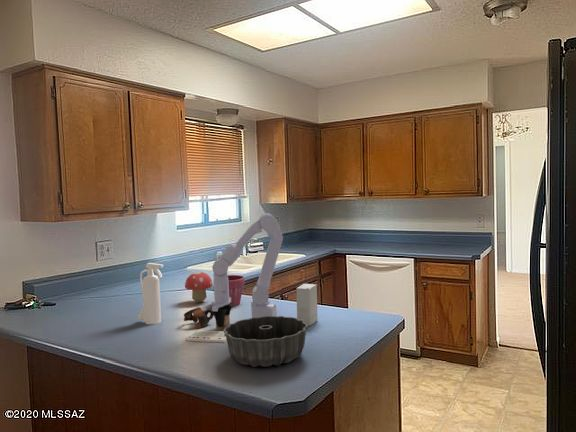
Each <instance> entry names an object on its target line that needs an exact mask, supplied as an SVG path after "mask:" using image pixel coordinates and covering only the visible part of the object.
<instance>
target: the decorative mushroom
mask: <svg viewBox="0 0 576 432" xmlns="http://www.w3.org/2000/svg"><path fill="white" fill-rule="evenodd" d="M213 286H214V283H213V280H212V278H211V276H209V274H207V273H205V272H203V271H195V272H192V273H191V274H189V275H188V277H186V280H185V283H184V289H186V290H188V291H191V292H192V293H191V295H192V296H191V297H192V298H191V299H192V300H193V301H194V302H195V303H202V302H204V301H205V300H206V299H207V289H210V288H212V287H213Z"/></svg>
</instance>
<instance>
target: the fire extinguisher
mask: <svg viewBox="0 0 576 432" xmlns="http://www.w3.org/2000/svg"><path fill="white" fill-rule="evenodd" d="M164 266H165V265H164V264H162V263H155V262H147V263H146V264H145V268H147V269H143V270H142V271H140V272H139V273H140V274H139V281H140V285H141V293H142V303H143V305H142V309H141V310H140V312H139V314H138V317H137V318H138V321H144V324H145V325H156V324H159V323H160V324H161V322H162V310H161V289H160V279H162V278H163V273H162V271H160V268H161V269H163V268H164ZM145 272H146V273H147V275H146V276H144V277H143V274H144V273H145ZM154 272H155V273H154ZM155 274H156V275H155ZM142 278H143V279H142Z"/></svg>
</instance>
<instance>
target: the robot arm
mask: <svg viewBox="0 0 576 432" xmlns="http://www.w3.org/2000/svg"><path fill="white" fill-rule="evenodd" d="M263 231H265V233H266V234H267V236H268V237H269V239H270V240H269V243H268V247H267V249H266V253H265V256H264V260H263V264H262V266H261V270H260V274H259V277H258V279H257V281H256V284H255V286H254V287H253V288H252V290H251V299H252V301H251V303H250V304H251V306H250V307H251V318H258V317H264V316H276V317H277V316H278V315H277V314H278V313H277V311H278V310H277V305H276V304H274V303H271V302H270V300H269V298H270V296H269V290H270V284H271V280H272V278H273V274H274V270H275V266H276V264H277V260H278V258H279V254H280V250H281V247H282V244H283V242H284V241H283V239H284V236H283V232H282V229H281V227H280V223H279V221H278V220H277V218H276V217H275V216H274V215H273V214H271V213H269V212H267V213H263V214H261V215H260V216H259V218H257V219H256V220H255V221H254V222H252V224H251V225H249V227H248V228H247V229H246V230H245V232H244V233H243V234H242V235H241V237H240V238H239V239H238V240H237V241H236V243H230V244H229V245H226V246H225V250H224V251H223V252H222V254H221V255H218V256H217V259H215V261H214V262H213V265H212V266H211V267H212V268H211V269H212V272H213V276H212V277H213V278H212V279H213V280H212V284H213V299H214V300H212V301H211V304H212V306H211V308H210V309H211V312H212V313H213V315H214V316H213V318H214V319H215V324H216V323H217V326H218V327H223V326H224V317H225V315H229V316H230V314H231V311H232V309H233V307H234V306H233V305H232V304H230V303H231V297H229V283H228V276H227V275H228V271H229V267H231V266H233V265H234V264H235V262H236V261H237V260H238V259H239V258H240V256H241V255H243V248H244V247H245V246H246V245H247V244H248V242H249V241H251V239H252V238H253V237H254V236H256V235H257V234H260V233H263Z"/></svg>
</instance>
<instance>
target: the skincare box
mask: <svg viewBox="0 0 576 432" xmlns="http://www.w3.org/2000/svg"><path fill="white" fill-rule="evenodd" d="M317 287H318V285H317V284H313V283H302V284H301V285H300V286H298V287H296V318H297V319H299V320H303V321H304V323H306V324H307V325H308V327H310V326H312V325H313V324H315V323H316V322H317V321H318V320H319V319H318V288H317Z"/></svg>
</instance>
